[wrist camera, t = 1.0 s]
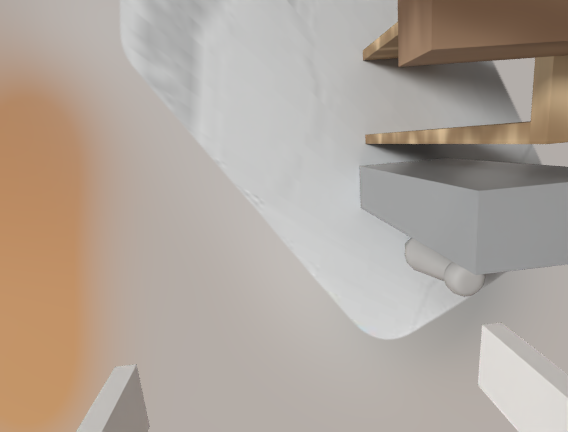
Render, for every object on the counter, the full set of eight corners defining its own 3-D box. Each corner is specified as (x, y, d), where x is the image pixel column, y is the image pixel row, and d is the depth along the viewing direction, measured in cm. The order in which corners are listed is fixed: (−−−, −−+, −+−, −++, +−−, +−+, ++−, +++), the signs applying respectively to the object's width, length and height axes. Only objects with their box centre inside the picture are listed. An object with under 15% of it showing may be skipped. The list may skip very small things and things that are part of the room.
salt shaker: (442, 236, 52) (504, 266, 39) (426, 270, 53) (482, 310, 40) (407, 224, 51) (459, 251, 38) (392, 259, 52) (438, 297, 39)
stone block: (359, 166, 48) (478, 190, 23) (447, 158, 49) (656, 173, 24) (360, 207, 50) (475, 275, 24) (447, 199, 51) (644, 255, 25)
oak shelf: (362, 50, 45) (567, -120, 16) (443, 45, 46) (778, -126, 17) (365, 143, 48) (546, 144, 18) (441, 137, 49) (729, 127, 19)
